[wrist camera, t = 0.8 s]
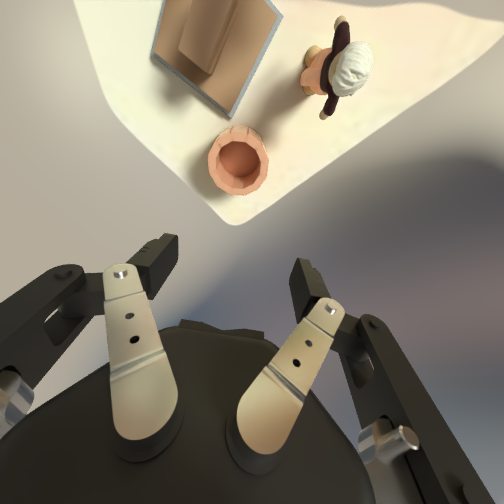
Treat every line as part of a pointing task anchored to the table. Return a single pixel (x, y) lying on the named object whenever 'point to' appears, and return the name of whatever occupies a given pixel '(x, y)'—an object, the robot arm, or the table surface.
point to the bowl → (238, 160)
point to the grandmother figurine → (336, 68)
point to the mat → (257, 62)
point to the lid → (214, 42)
